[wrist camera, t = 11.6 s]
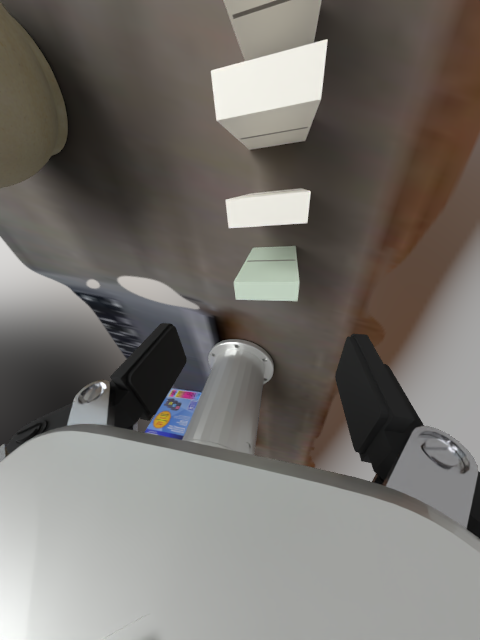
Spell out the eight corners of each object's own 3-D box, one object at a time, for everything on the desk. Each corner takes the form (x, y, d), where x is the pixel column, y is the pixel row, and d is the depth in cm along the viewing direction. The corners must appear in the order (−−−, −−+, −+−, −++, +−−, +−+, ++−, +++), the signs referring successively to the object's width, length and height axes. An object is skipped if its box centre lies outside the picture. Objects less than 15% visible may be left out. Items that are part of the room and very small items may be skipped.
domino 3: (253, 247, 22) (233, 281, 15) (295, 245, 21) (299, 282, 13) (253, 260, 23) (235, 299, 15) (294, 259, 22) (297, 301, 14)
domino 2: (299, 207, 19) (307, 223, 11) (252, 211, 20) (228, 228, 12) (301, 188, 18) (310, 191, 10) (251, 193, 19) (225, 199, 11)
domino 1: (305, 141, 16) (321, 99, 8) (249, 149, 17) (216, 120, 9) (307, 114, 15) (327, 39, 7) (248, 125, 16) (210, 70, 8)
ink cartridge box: (204, 391, 45) (175, 461, 33) (210, 403, 48) (185, 472, 36) (169, 387, 47) (131, 451, 36) (176, 399, 50) (144, 462, 39)
